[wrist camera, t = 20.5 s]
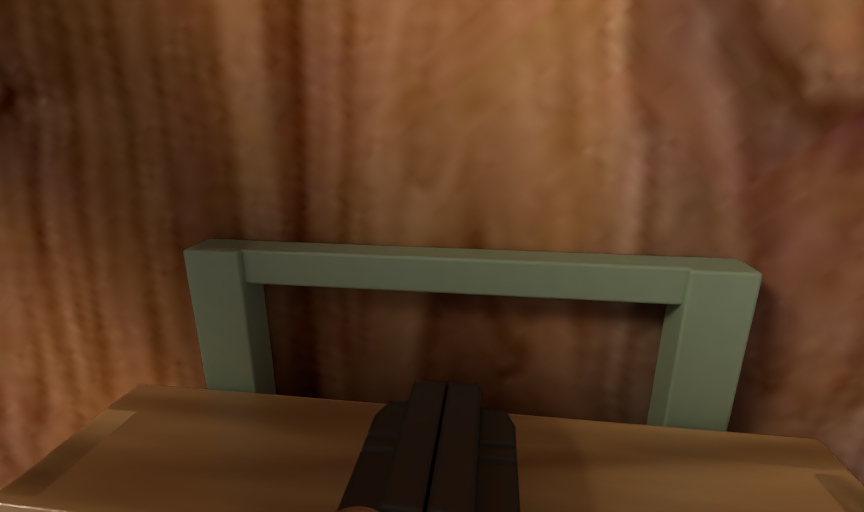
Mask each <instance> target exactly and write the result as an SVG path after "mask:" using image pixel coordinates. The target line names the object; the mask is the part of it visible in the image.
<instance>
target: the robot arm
mask: <svg viewBox="0 0 864 512" xmlns="http://www.w3.org/2000/svg"><path fill="white" fill-rule="evenodd" d="M335 512H520V497H519V480H518V465H517V449H516V428H515V425H514V423H513V422H512V420H511V419H510V417H509V415H508V414H507V412H506V411H505V410H504V409H491V408H481V384H469V383H454V382H449V386H447V382H437V381H423V380H415V381H414V383H413V387H412V390H411V393H410V397H409V400H408V402H395V401H390V402H388V403H387V404H386V405H385V406H384V407H383V408H382V409H381V410H380V411H379V412H378V413H377V414H376V415H375V416H374V419H373V421H372V424H371V426H370V429H369V431H368V436H367V437H366V439H365V442H364V444H363V447H362V451H361V452H360V454H359V457H358V459H357V462H356V464H355V467H354V469H353V472H352V474H351V477H350V480H349V482H348V485H347V487H346V490H345V492H344V495H343V497H342V500H341V502H340V505H339V507H338V510H337V511H335Z"/></svg>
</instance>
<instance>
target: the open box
mask: <svg viewBox="0 0 864 512" xmlns="http://www.w3.org/2000/svg"><path fill="white" fill-rule="evenodd" d="M385 405H386V404H382V403H369V402H357V401H345V400H333V399H320V398H308V397H296V396H283V395H271V394H259V393H246V392H234V391H222V390H209V389H197V388H185V387H173V386H160V385H148V384H139V385H137V386H136V387H134V388H133V389H132V390H131V391H129V392H128V393H127V394H125V395H124V396H123V397H121V398H120V399H119V400H118V401H116V402H115V403H114V404H112V405H111V406H110V407H109V408H107V409H106V410H104V411H103V412H102V413H100V414H99V415H98V416H97V417H95V418H94V419H93V420H91V421H90V422H89V423H87V424H86V425H85V426H84V427H82V428H81V429H80V430H78V431H77V432H76V433H75V434H73V435H72V436H71V437H69V438H68V439H67V440H65V441H64V442H63V443H62V444H60V445H59V446H58V447H56V448H55V449H54V450H52V451H51V452H50V453H49V454H47V455H46V456H45V457H43V458H42V459H41V460H40V461H38V462H37V463H36V464H34V465H33V466H32V467H30V468H29V469H28V470H27V471H25V472H24V473H23V474H21V475H20V476H19V477H17V478H16V479H15V480H14V481H12V482H11V483H10V484H8V485H7V486H6V487H5V488H3V489H2V490H1V491H0V512H335V511H337V510H338V507H339V505H340V502H341V500H342V497H343V495H344V492H345V490H346V487H347V485H348V482H349V480H350V477H351V474H352V472H353V469H354V467H355V464H356V462H357V459H358V457H359V454H360V452H361V451H362V447H363V444H364V442H365V439H366V437H367V436H368V431H369V429H370V426H371V424H372V421H373V419H374V416H375V415H376V414H377V413H378V412H379V411H380V410H381V409H382V408H383V407H384V406H385ZM508 415H509V417H510V419H511V420H512V422H513V423H514V425H515V428H516V449H517V465H518V480H519V497H520V512H864V486H863V485H862V484H861V483H860V482H859V481H858V480H857V479H856V478H855V477H854V476H853V475H852V474H851V472H850V471H849V470H848V469H847V468H846V467H845V466H844V465H843V464H842V463H841V462H840V461H839V460H838V459H837V458H836V457H835V456H834V455H833V454H832V453H831V452H830V451H829V450H828V449H827V448H826V447H825V446H824V445H823V444H822V443H821V442H820V440H818V439H813V438H800V437H788V436H776V435H763V434H751V433H739V432H727V431H714V430H702V429H690V428H677V427H665V426H653V425H640V424H628V423H616V422H603V421H591V420H579V419H566V418H554V417H542V416H530V415H517V414H508Z"/></svg>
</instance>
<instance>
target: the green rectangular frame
mask: <svg viewBox="0 0 864 512" xmlns="http://www.w3.org/2000/svg"><path fill="white" fill-rule="evenodd" d="M183 254H184V260H185V266H186V271H187V277H188V283H189V289H190V295H191V300H192V306H193V312H194V318H195V324H196V329H197V335H198V341H199V347H200V353H201V358H202V364H203V370H204V376H205V382H206V387H207V389H209V390H222V391H234V392H246V393H259V394H271V395H277V394H276V386H275V377H274V369H273V361H272V352H271V344H270V336H269V327H268V319H267V311H266V302H265V294H264V285H263V284H273V285H293V286H313V287H333V288H353V289H374V290H394V291H414V292H434V293H454V294H474V295H494V296H514V297H534V298H554V299H574V300H594V301H614V302H634V303H655V304H666V310H665V316H664V322H663V328H662V334H661V340H660V346H659V352H658V358H657V364H656V370H655V376H654V382H653V388H652V394H651V400H650V406H649V412H648V417H647V423H646V425H653V426H665V427H677V428H690V429H702V430H714V431H727V427H728V423H729V419H730V415H731V410H732V406H733V402H734V397H735V393H736V389H737V384H738V380H739V376H740V371H741V367H742V363H743V359H744V354H745V350H746V346H747V341H748V337H749V333H750V328H751V324H752V320H753V315H754V311H755V307H756V302H757V298H758V294H759V290H760V285H761V281H762V273H760V272H758V271H757V270H755V269H754V268H752V267H750V266H749V265H747V264H746V263H744V262H742V261H741V260H739V259H729V258H703V257H676V256H649V255H622V254H596V253H569V252H543V251H516V250H489V249H463V248H436V247H409V246H383V245H356V244H329V243H303V242H276V241H256V240H230V239H207V240H204V241H202V242H200V243H198V244H196V245H193V246H191V247H189V248H187V249H185V250H183Z"/></svg>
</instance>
